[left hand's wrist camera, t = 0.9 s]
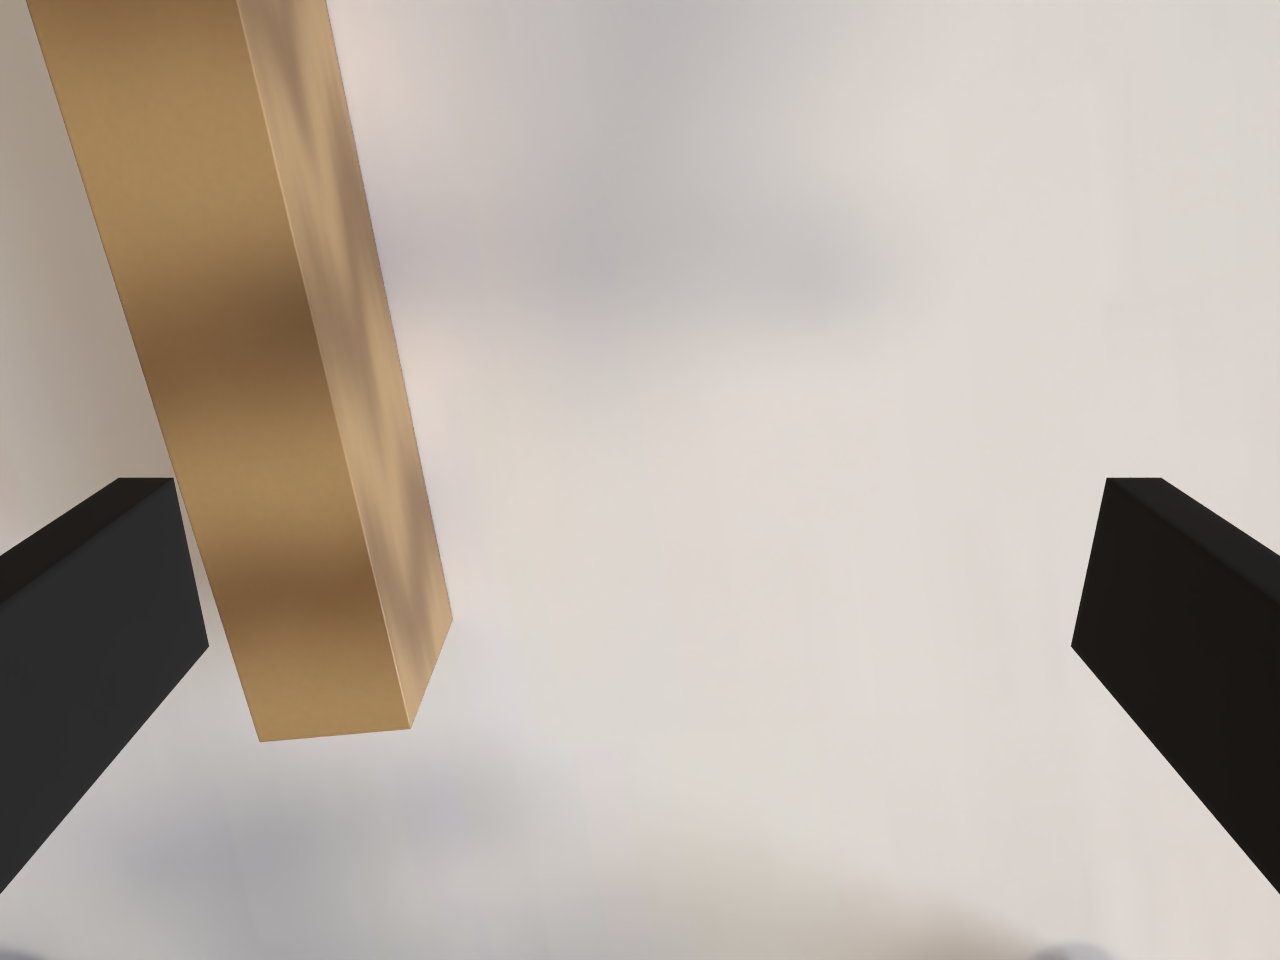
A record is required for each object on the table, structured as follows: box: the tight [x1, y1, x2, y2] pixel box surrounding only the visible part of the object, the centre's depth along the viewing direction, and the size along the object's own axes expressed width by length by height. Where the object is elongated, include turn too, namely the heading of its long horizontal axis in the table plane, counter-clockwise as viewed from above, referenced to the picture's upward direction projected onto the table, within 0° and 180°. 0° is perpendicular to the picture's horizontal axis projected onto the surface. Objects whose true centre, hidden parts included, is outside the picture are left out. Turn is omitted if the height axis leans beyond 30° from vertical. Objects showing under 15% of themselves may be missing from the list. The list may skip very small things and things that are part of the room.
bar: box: [26, 0, 453, 742], centre depth 30 cm, size 30×6×8 cm, turn 6°
